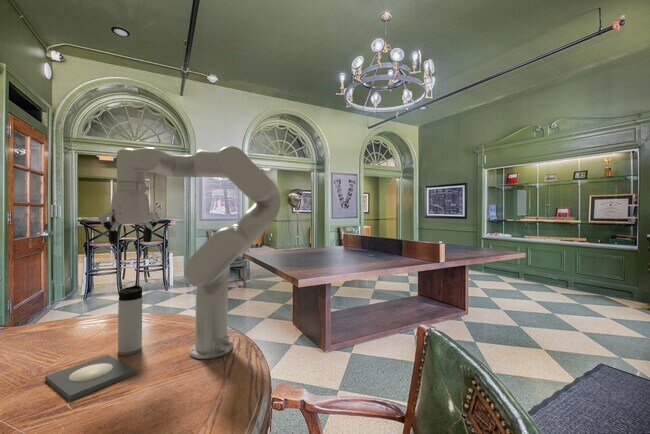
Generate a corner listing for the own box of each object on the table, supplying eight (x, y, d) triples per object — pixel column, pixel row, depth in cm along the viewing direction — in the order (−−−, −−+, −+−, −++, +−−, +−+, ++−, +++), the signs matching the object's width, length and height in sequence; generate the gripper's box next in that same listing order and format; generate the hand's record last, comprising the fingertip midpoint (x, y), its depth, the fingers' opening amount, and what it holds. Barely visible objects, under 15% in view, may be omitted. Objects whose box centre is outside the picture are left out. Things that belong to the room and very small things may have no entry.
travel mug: (146, 346, 95) (147, 285, 96) (133, 355, 89) (134, 290, 89) (126, 346, 95) (127, 285, 95) (112, 356, 89) (113, 290, 89)
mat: (135, 373, 78) (135, 368, 78) (69, 401, 67) (69, 394, 67) (108, 358, 87) (108, 354, 87) (45, 380, 75) (45, 375, 75)
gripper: (152, 191, 102) (152, 240, 102) (93, 187, 87) (93, 244, 87) (165, 190, 98) (164, 241, 98) (104, 185, 83) (104, 245, 83)
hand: (131, 242), depth 92 cm, fingers open, 9 cm apart
